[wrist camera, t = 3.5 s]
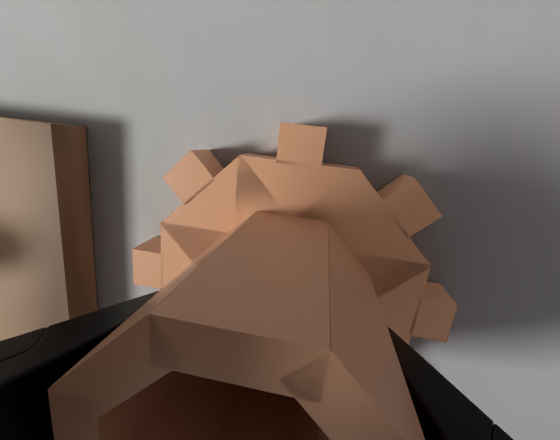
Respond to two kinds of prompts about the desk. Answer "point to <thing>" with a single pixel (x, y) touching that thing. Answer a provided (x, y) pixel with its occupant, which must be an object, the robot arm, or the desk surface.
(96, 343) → the robot arm
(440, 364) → the desk surface
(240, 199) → the gear
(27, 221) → the carrier
